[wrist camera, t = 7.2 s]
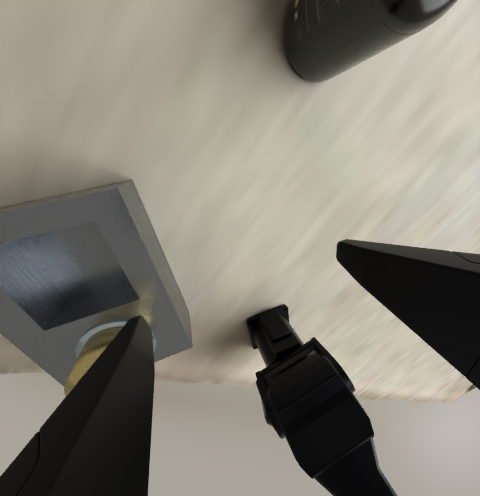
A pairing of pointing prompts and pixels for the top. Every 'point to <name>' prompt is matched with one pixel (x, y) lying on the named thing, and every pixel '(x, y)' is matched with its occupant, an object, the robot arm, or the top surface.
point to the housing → (85, 276)
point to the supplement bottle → (350, 31)
